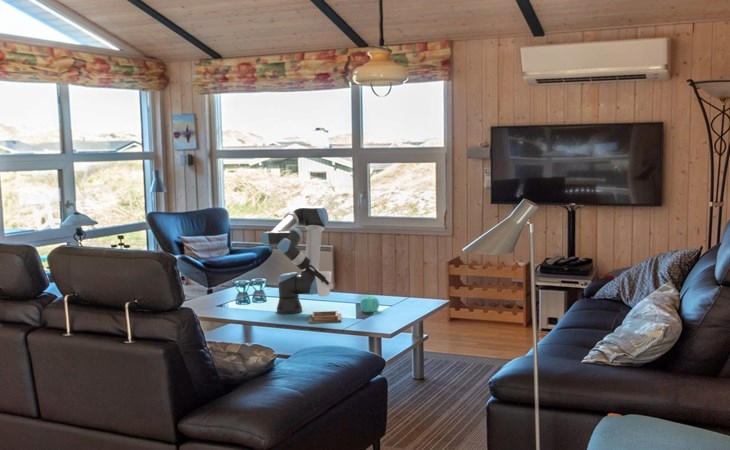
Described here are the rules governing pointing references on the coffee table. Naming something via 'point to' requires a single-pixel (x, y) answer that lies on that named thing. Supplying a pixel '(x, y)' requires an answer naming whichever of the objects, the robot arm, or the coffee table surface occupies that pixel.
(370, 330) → the coffee table surface
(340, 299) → the coffee table surface
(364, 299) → the green textured ball
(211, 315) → the coffee table surface
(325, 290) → the foam cup
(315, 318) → the dock board
